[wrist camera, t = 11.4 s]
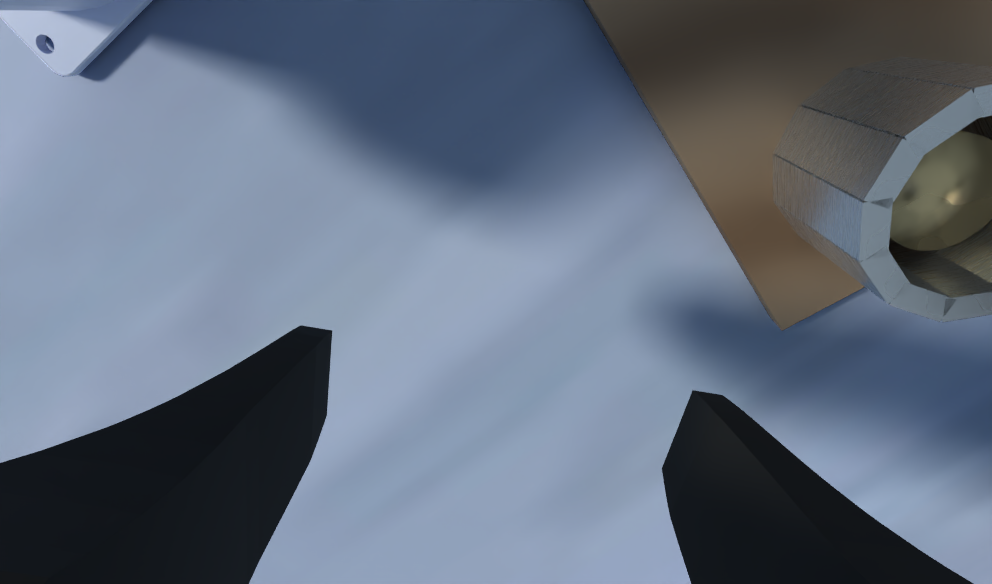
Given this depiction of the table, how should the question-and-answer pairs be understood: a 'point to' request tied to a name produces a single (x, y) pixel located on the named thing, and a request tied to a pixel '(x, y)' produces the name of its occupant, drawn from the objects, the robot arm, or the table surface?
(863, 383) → the table surface
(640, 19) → the walnut board
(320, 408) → the robot arm
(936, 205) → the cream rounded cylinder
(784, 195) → the steel collar
